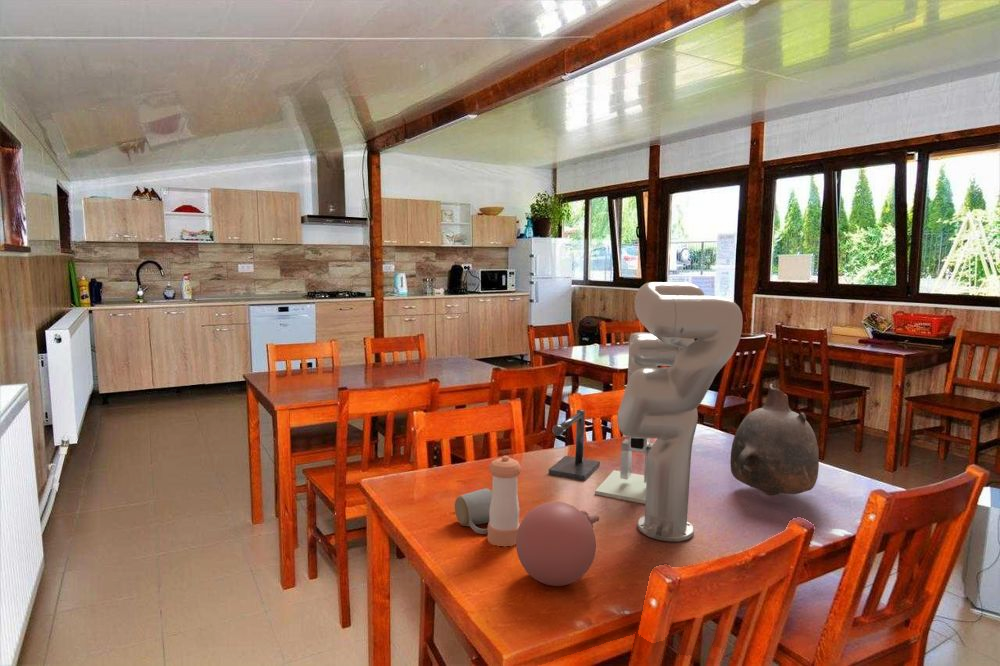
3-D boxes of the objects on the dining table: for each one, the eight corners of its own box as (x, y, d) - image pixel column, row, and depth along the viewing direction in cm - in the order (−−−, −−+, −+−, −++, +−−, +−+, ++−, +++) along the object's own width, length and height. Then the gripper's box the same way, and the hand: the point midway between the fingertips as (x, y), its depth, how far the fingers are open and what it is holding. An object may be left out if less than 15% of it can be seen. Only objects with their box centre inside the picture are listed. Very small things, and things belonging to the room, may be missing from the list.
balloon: (627, 578, 121) (630, 503, 119) (551, 612, 109) (554, 529, 107) (573, 548, 133) (575, 479, 131) (499, 575, 121) (500, 500, 119)
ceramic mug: (452, 520, 146) (453, 489, 145) (483, 513, 150) (483, 483, 149) (472, 539, 137) (472, 506, 136) (504, 531, 141) (505, 499, 140)
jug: (810, 521, 149) (820, 400, 145) (718, 501, 160) (726, 388, 157) (820, 490, 169) (829, 383, 166) (738, 474, 181) (745, 373, 177)
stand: (573, 492, 165) (575, 428, 162) (535, 485, 169) (537, 423, 167) (599, 466, 186) (601, 409, 183) (565, 460, 190) (567, 405, 188)
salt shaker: (498, 529, 142) (499, 449, 139) (526, 537, 138) (527, 454, 136) (481, 541, 136) (482, 457, 133) (509, 550, 132) (511, 464, 129)
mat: (663, 507, 156) (663, 503, 156) (595, 494, 164) (595, 490, 163) (676, 484, 172) (676, 480, 172) (613, 473, 180) (613, 470, 180)
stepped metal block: (651, 483, 164) (653, 432, 162) (620, 478, 167) (622, 428, 166) (654, 479, 167) (657, 429, 165) (624, 473, 171) (626, 424, 169)
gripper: (649, 386, 155) (645, 456, 157) (662, 375, 170) (659, 439, 172) (619, 383, 158) (616, 452, 160) (635, 372, 173) (632, 435, 175)
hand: (639, 445), depth 166 cm, fingers closed on stepped metal block, 4 cm apart
